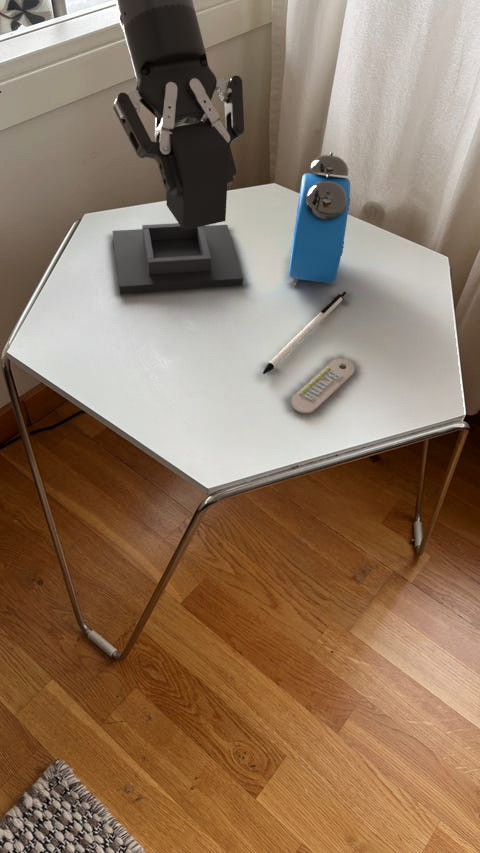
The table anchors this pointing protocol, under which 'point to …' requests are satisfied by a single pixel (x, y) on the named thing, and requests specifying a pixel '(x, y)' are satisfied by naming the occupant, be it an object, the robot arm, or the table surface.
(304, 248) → the alarm clock
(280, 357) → the pen
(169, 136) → the robot arm
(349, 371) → the keychain
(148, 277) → the base pad
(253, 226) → the table surface
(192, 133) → the pad block
